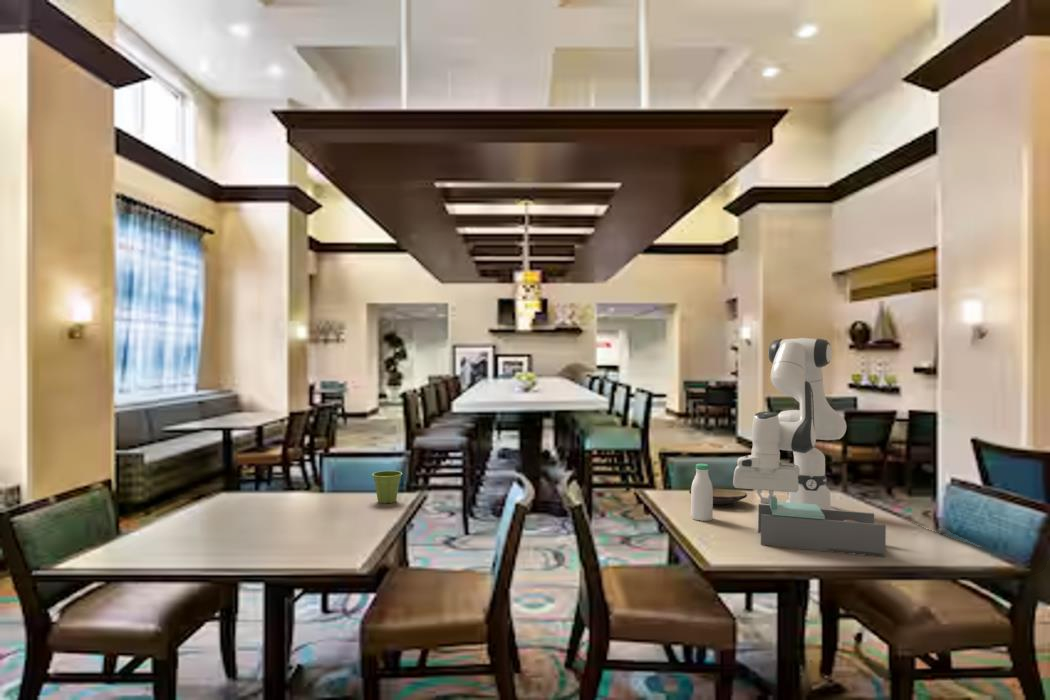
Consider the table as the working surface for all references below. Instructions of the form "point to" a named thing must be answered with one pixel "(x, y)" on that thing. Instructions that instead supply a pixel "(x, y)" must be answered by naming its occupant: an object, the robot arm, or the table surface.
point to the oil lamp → (726, 496)
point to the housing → (824, 531)
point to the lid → (795, 509)
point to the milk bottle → (702, 494)
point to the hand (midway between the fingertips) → (765, 503)
